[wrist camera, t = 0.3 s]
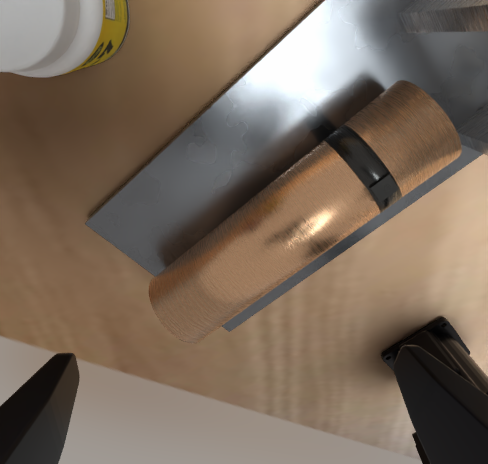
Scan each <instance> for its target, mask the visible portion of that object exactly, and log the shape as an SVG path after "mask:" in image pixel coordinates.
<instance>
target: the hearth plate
mask: <svg viewBox="0 0 488 464" xmlns="http://www.w3.org/2000/svg"><path fill="white" fill-rule="evenodd" d="M414 1H415V0H321V1H320V2H319V3H318V4H317V5H316V6H315V7H314V8H313V9H312V10H311V11H309V12H308V13H307V14H306V15H305V16H304V17H303V18H302V19H301V20H300V21H299V22H298V23H297V24H296V25H294V26H293V27H292V28H291V29H290V30H289V31H288V32H287V33H286V34H285V35H284V36H283V37H282V38H281V39H279V40H278V41H277V42H276V43H275V44H274V45H273V46H272V47H271V48H270V49H269V50H268V51H267V52H266V53H264V54H263V55H262V56H261V57H260V58H259V59H258V60H257V61H256V62H255V63H254V64H253V65H252V66H251V67H249V68H248V69H247V70H246V71H245V72H244V73H243V74H242V75H241V76H240V77H239V78H238V79H237V80H236V81H234V82H233V83H232V84H231V85H230V86H229V87H228V88H227V89H226V90H225V91H224V92H223V93H222V94H221V95H219V96H218V97H217V98H216V99H215V100H214V101H213V102H212V103H211V104H210V105H209V106H208V107H207V108H206V109H204V110H203V111H202V112H201V113H200V114H199V115H198V116H197V117H196V118H195V119H194V120H193V121H192V122H190V123H189V124H188V125H187V126H186V127H185V128H184V129H183V130H182V131H181V132H180V133H179V134H178V135H177V136H175V137H174V138H173V139H172V140H171V141H170V142H169V143H168V144H167V145H166V146H165V147H164V148H163V149H162V150H160V151H159V152H158V153H157V154H156V155H155V156H154V157H153V158H152V159H151V160H150V161H149V162H148V163H147V164H145V165H144V166H143V167H142V168H141V169H140V170H139V171H138V172H137V173H136V174H135V175H134V176H133V177H132V178H130V179H129V180H128V181H127V182H126V183H125V184H124V185H123V186H122V187H121V188H120V189H119V190H118V191H117V192H115V193H114V194H113V195H112V196H111V197H110V198H109V199H108V200H107V201H106V202H105V203H104V204H103V205H102V206H100V207H99V208H98V209H97V210H96V211H95V212H94V213H93V214H92V215H91V216H90V217H89V218H88V219H87V221H86V223H85V224H86V225H87V226H88V227H90V228H91V229H93V230H94V231H95V232H97V233H98V234H99V235H101V236H102V237H103V238H105V239H106V240H107V241H109V242H110V243H111V244H113V245H114V246H115V247H117V248H118V249H119V250H121V251H122V252H123V253H125V254H126V255H127V256H129V257H130V258H131V259H133V260H134V261H135V262H137V263H138V264H139V265H141V266H142V267H143V268H145V269H146V270H147V271H149V272H150V273H151V274H153V275H154V276H157V275H158V274H159V273H160V272H162V271H163V270H164V269H165V268H167V267H168V266H169V265H170V264H171V263H173V262H174V261H175V260H176V259H178V258H179V257H180V256H181V255H183V254H184V253H185V252H186V251H188V250H189V249H190V248H191V247H192V246H194V245H195V244H196V243H197V242H199V241H200V240H201V239H202V238H204V237H205V236H206V235H207V234H209V233H210V232H211V231H212V230H214V229H215V228H216V227H217V226H218V225H220V224H221V223H222V222H223V221H225V220H226V219H227V218H228V217H230V216H231V215H232V214H233V213H235V212H236V211H237V210H238V209H239V208H241V207H242V206H243V205H244V204H246V203H247V202H248V201H249V200H251V199H252V198H253V197H254V196H256V195H257V194H258V193H259V192H260V191H262V190H263V189H264V188H265V187H267V186H268V185H269V184H270V183H272V182H273V181H274V180H275V179H277V178H278V177H279V176H280V175H281V174H283V173H284V172H285V171H286V170H288V169H289V168H290V167H291V166H293V165H294V164H295V163H296V162H298V161H299V160H300V159H301V158H302V157H304V156H305V155H306V154H307V153H309V152H310V151H311V150H312V149H314V148H315V147H316V146H317V145H319V144H320V143H321V142H322V141H323V140H324V139H325V138H327V137H328V136H329V135H330V134H332V133H333V132H334V131H335V130H336V129H338V128H339V127H340V126H341V125H343V124H345V123H346V122H347V121H348V120H349V119H351V118H352V117H353V116H354V115H356V114H357V113H358V112H359V111H361V110H362V109H363V108H364V107H366V106H367V105H368V104H369V103H370V102H372V101H373V100H374V99H375V98H377V97H378V96H379V95H380V94H382V93H383V92H384V91H385V90H387V89H388V88H389V87H390V86H391V85H393V84H394V83H395V82H396V81H399V80H405V81H408V82H411V83H413V84H415V85H416V86H418V87H420V88H421V89H422V90H424V91H425V92H426V93H427V94H429V95H430V96H431V97H432V98H433V99H434V100H435V101H436V102H437V103H438V104H439V106H440V107H441V108H442V109H443V110H444V112H445V113H446V114H447V116H448V117H449V119H450V120H451V122H452V123H453V125H454V127H455V128H456V127H457V126H459V125H460V124H461V123H463V122H464V121H465V120H467V119H468V118H470V117H471V116H472V115H474V114H475V113H476V112H478V111H479V110H480V109H482V108H483V107H484V106H486V105H487V104H488V31H482V32H421V33H407V31H406V29H405V27H404V25H403V22H402V20H401V18H400V16H399V14H400V13H401V12H402V11H403V10H404V9H405V8H407V7H408V6H409V5H410V4H411V3H412V2H414ZM461 147H462V152H461V155H460V156H459V157H458V158H457V159H455V160H454V161H453V162H451V163H450V164H448V165H447V166H446V167H444V168H443V169H441V170H440V171H439V172H437V173H436V174H434V175H433V176H431V177H430V178H429V179H427V180H426V181H424V182H423V183H422V184H420V185H419V186H417V187H416V188H415V189H413V190H412V191H410V192H409V193H408V194H406V195H405V196H403V197H402V198H401V199H400V200H398V201H397V202H396V203H394V204H393V205H391V206H390V207H389V208H387V209H386V210H384V211H383V212H382V213H379V214H378V215H377V216H375V217H374V218H372V219H371V220H370V221H368V222H367V223H365V224H364V225H363V226H361V227H360V228H358V229H357V230H356V231H354V232H353V233H351V234H350V235H349V236H347V237H346V238H344V239H343V240H341V241H340V242H339V243H337V244H336V245H334V246H333V247H332V248H330V249H329V250H327V251H326V252H325V253H323V254H322V255H320V256H319V257H318V258H316V259H315V260H313V261H312V262H311V263H309V264H308V265H306V266H305V267H304V268H302V269H301V270H299V271H298V272H296V273H295V274H294V275H292V276H291V277H289V278H288V279H287V280H285V281H284V282H282V283H281V284H280V285H278V286H277V287H275V288H274V289H273V290H271V291H270V292H268V293H267V294H266V295H264V296H263V297H261V298H260V299H259V300H257V301H256V302H254V303H253V304H251V305H250V306H249V307H247V308H246V309H244V310H243V311H242V312H240V313H239V314H237V315H236V316H235V317H233V318H232V319H230V320H229V321H228V322H226V323H225V324H223V325H222V327H224V328H225V329H226V330H228V331H229V332H230V331H231V330H233V329H234V328H236V327H237V326H238V325H240V324H241V323H243V322H244V321H246V320H247V319H248V318H250V317H251V316H253V315H254V314H255V313H257V312H258V311H260V310H261V309H263V308H264V307H265V306H267V305H268V304H270V303H271V302H273V301H274V300H275V299H277V298H278V297H280V296H281V295H283V294H284V293H285V292H287V291H288V290H290V289H291V288H293V287H294V286H295V285H297V284H298V283H300V282H301V281H303V280H304V279H305V278H307V277H308V276H310V275H311V274H312V273H314V272H315V271H317V270H318V269H320V268H321V267H322V266H324V265H325V264H327V263H328V262H330V261H331V260H332V259H334V258H335V257H337V256H338V255H340V254H341V253H342V252H344V251H345V250H347V249H348V248H350V247H351V246H352V245H354V244H355V243H357V242H358V241H359V240H361V239H362V238H364V237H365V236H367V235H368V234H369V233H371V232H372V231H374V230H375V229H377V228H378V227H379V226H381V225H382V224H384V223H385V222H387V221H388V220H389V219H391V218H392V217H394V216H395V215H397V214H398V213H399V212H401V211H402V210H404V209H405V208H407V207H408V206H409V205H411V204H412V203H414V202H415V201H416V200H418V199H419V198H421V197H422V196H424V195H425V194H426V193H428V192H429V191H431V190H432V189H434V188H435V187H436V186H438V185H439V184H441V183H442V182H444V181H445V180H446V179H448V178H449V177H451V176H452V175H454V174H455V173H456V172H458V171H459V170H461V169H462V168H464V167H465V166H466V165H468V164H469V163H471V162H472V161H473V160H475V159H476V158H478V157H479V156H481V155H482V154H483V153H480V152H478V151H476V150H473V149H471V148H468V147H466V146H463V145H461Z"/></svg>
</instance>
